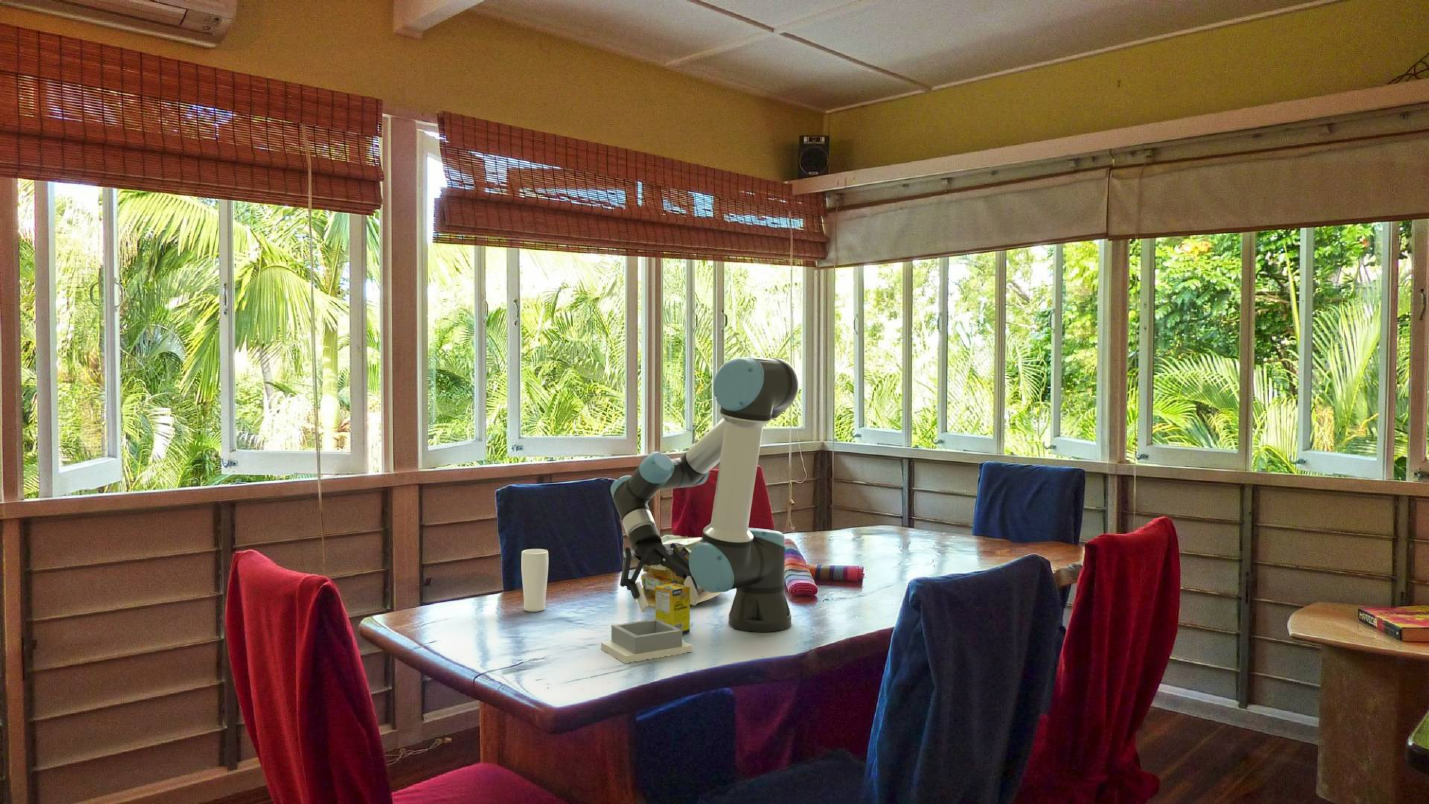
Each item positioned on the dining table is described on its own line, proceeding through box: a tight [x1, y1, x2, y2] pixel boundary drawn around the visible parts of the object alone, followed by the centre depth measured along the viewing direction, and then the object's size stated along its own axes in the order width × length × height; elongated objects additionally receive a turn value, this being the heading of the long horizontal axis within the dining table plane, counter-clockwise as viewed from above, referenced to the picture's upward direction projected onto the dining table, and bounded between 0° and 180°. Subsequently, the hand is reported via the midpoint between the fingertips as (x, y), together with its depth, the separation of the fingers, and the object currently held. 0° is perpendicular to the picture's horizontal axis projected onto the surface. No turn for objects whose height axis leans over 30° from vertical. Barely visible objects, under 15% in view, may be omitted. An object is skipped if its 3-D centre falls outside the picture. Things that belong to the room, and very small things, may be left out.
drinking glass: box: [520, 548, 549, 613], centre depth 242 cm, size 7×7×15 cm
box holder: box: [600, 618, 693, 664], centre depth 208 cm, size 16×12×5 cm
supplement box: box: [654, 583, 691, 635], centre depth 222 cm, size 6×6×11 cm
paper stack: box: [633, 534, 722, 608], centre depth 257 cm, size 25×25×17 cm
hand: (671, 605), depth 222 cm, fingers open, 13 cm apart
